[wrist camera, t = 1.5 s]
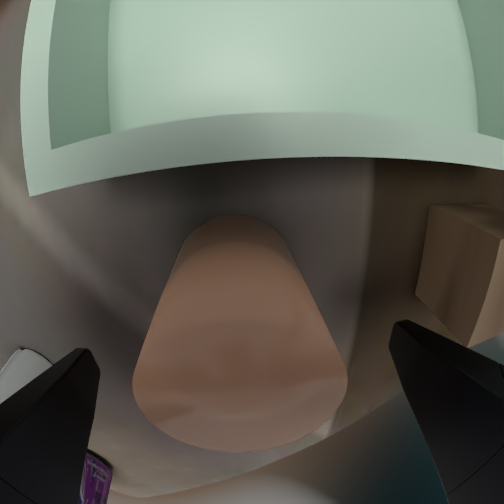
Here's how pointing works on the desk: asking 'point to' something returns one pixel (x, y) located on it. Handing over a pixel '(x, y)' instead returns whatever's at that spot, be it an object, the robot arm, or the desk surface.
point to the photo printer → (20, 371)
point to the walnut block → (464, 270)
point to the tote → (257, 83)
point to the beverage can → (94, 481)
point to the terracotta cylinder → (237, 345)
